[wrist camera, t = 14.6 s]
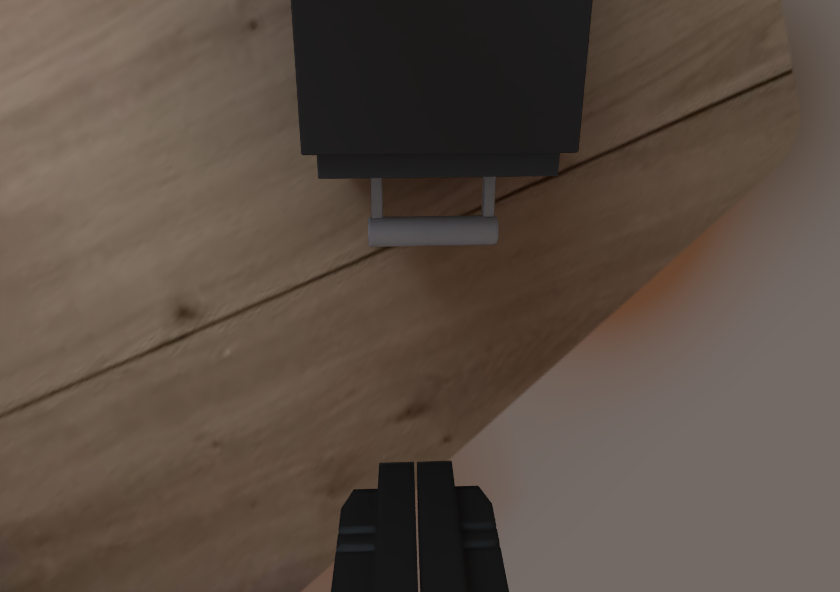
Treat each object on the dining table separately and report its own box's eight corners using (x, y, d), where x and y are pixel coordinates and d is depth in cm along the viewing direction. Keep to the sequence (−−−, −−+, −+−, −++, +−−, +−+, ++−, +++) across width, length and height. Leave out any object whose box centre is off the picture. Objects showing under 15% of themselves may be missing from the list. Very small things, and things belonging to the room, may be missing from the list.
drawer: (517, 223, 38) (551, 261, 31) (333, 226, 37) (323, 266, 30) (537, -112, 31) (586, -164, 24) (315, -116, 31) (297, -172, 23)
